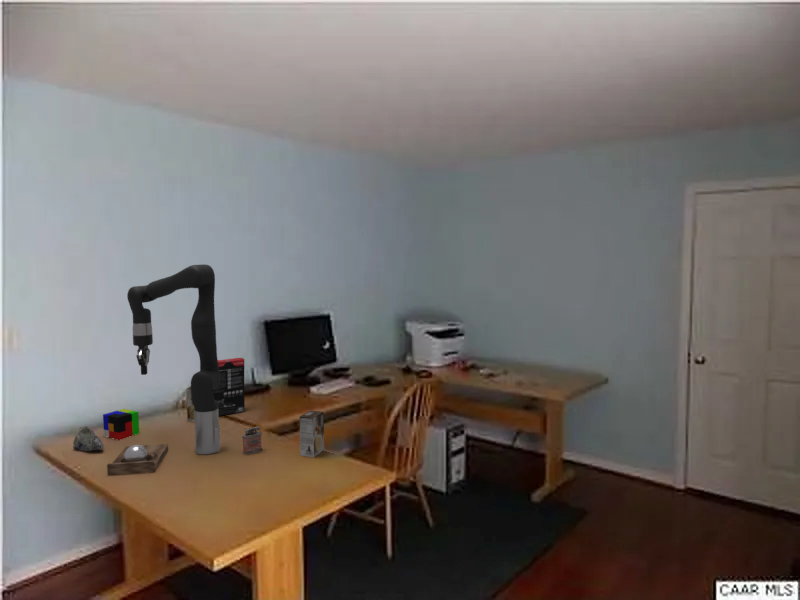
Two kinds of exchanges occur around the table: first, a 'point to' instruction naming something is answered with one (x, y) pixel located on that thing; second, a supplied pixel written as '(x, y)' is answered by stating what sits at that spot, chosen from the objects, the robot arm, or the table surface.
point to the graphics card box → (230, 387)
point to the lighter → (252, 441)
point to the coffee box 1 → (190, 406)
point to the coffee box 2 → (311, 433)
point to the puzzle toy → (121, 424)
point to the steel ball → (135, 454)
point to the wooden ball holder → (150, 465)
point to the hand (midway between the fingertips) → (144, 374)
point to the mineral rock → (87, 440)
